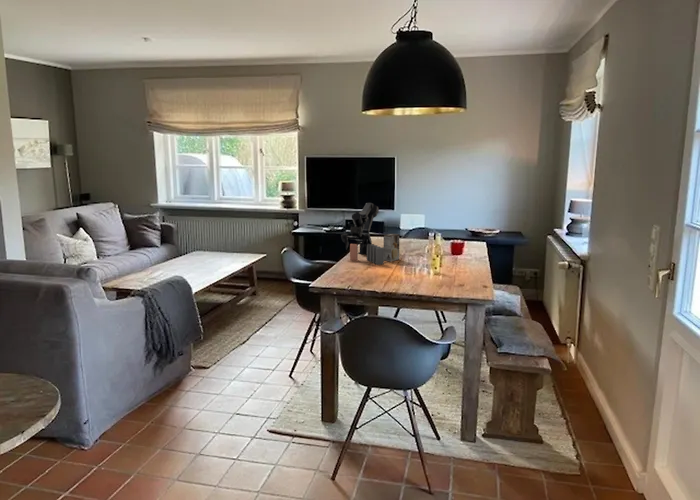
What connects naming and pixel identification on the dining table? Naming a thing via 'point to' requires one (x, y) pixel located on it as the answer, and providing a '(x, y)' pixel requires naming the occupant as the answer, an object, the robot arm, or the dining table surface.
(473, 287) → the dining table surface
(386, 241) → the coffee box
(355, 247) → the loose domino
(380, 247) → the domino
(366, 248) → the robot arm
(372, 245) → the domino
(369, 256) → the domino
